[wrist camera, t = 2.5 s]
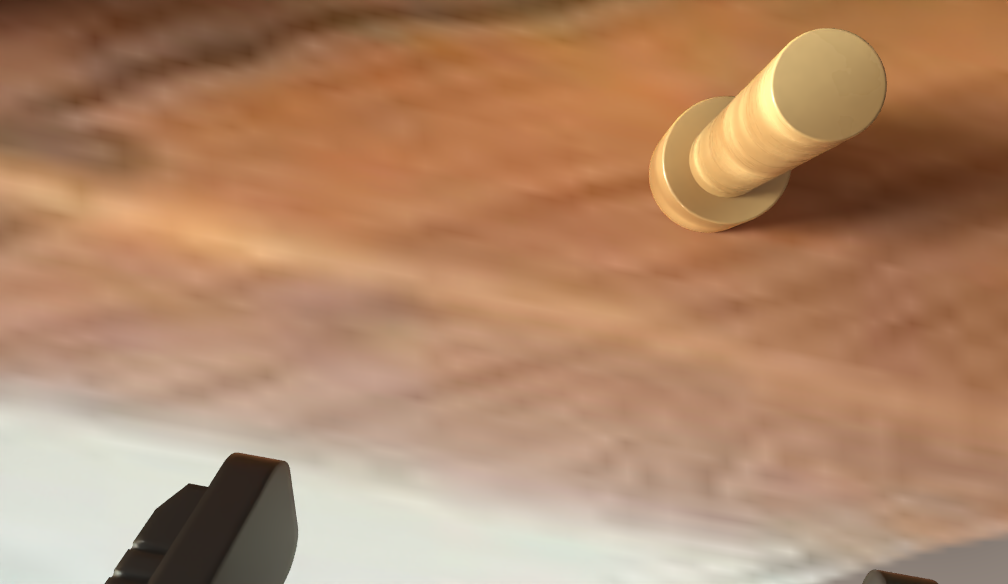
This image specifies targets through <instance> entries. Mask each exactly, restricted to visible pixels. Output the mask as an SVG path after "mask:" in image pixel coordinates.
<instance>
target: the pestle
mask: <svg viewBox="0 0 1008 584" xmlns="http://www.w3.org/2000/svg"><path fill="white" fill-rule="evenodd" d="M886 88H887V81H886V74H885V70H884V66H883V64H882V61H881V59H880V58H879V56H878V54H877V53H876V51H875V50H874V49H873V48H872V47H871V46H870V45H869V43H867V42H866V41H865V40H864V39H862V38H861V37H859V36H857V35H856V34H853V33H851V32H849V31H845V30H842V29H835V28H822V29H816V30H811V31H809V32H806V33H803V34H802V35H800V36H798V37H796V38H795V39H793V40H792V41H791V42H790V43H789V44H788V45H786V46H785V47H784V48H783V49H782V50H781V51H780V52H779V53H778V55H777V56H776V57H775V58H774V59H773V60H772V61H771V62H770V63H769V64H768V65H767V66H766V67H765V68H764V69H763V70H762V71H761V72H760V73H759V74H758V75H757V76H756V77H755V78H754V79H753V80H752V81H751V82H750V83H749V84H748V85H747V86H746V87H745V88H744V89H743V90H742V91H741V92H740V93H739V94H738V95H737V96H736V97H735V96H720V97H713V98H709V99H706V100H703V101H701V102H698V103H697V104H695V105H693V106H691V107H690V108H688V109H687V110H686V111H684V112H683V113H682V114H681V115H680V116H679V117H678V118H677V120H676V121H675V122H674V123H673V125H672V126H671V127H670V128H669V130H668V131H667V132H666V133H665V135H664V136H663V137H662V138H661V140H660V141H659V143H658V144H657V146H656V148H655V150H654V152H653V154H652V158H651V161H650V167H649V182H650V187H651V191H652V194H653V197H654V199H655V201H656V203H657V205H658V206H659V207H660V209H661V210H662V212H663V213H664V214H665V215H666V216H667V217H668V218H670V219H671V220H672V221H673V222H675V223H676V224H678V225H680V226H682V227H684V228H686V229H689V230H692V231H697V232H705V233H711V232H719V231H724V230H727V229H729V228H732V227H735V226H737V225H740V224H742V223H745V222H747V221H750V220H753V219H755V218H757V217H759V216H760V215H762V214H763V213H765V212H766V211H768V210H769V209H770V208H771V207H772V206H773V205H774V204H775V203H776V202H777V201H778V199H779V198H780V197H781V195H782V194H783V192H784V190H785V188H786V186H787V184H788V181H789V178H790V174H791V169H793V168H795V167H797V166H799V165H801V164H803V163H805V162H807V161H809V160H810V159H812V158H814V157H816V156H818V155H820V154H822V153H824V152H826V151H828V150H830V149H831V148H833V147H835V146H837V145H839V144H841V143H843V142H845V141H847V140H849V139H851V138H853V137H854V136H856V135H858V134H860V133H861V132H863V131H864V130H865V129H867V128H868V127H869V126H870V125H871V124H872V123H873V121H874V120H875V119H876V118H877V116H878V114H879V113H880V111H881V109H882V106H883V104H884V100H885V96H886Z"/></svg>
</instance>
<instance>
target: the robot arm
mask: <svg viewBox="0 0 1008 584" xmlns="http://www.w3.org/2000/svg"><path fill="white" fill-rule="evenodd" d="M297 540H298V525H297V517H296V510H295V503H294V496H293V489H292V481H291V474H290V468H289V465H288V463H287V462H285V461H281V460H276V459H270V458H265V457H259V456H254V455H248V454H243V453H233V454H231V455H230V456H229V457H228V458H227V459H226V460H225V462H224V463H223V465H222V466H221V468H220V469H219V471H218V473H217V474H216V476H215V477H214V479H213V480H212V482H211V484H210V485H209V487H205V486H200V485H195V484H188V485H186V486H185V487H184V488H183V489H181V490H180V491H179V492H177V493H176V494H175V495H174V496H172V497H171V498H170V499H168V500H167V501H166V502H165V503H163V504H162V505H161V506H159V507H158V508H157V509H156V510H155V511H154V513H153V514H152V515H151V517H150V518H149V520H148V521H147V523H146V524H145V526H144V527H143V529H142V530H141V532H140V533H139V534H138V536H137V537H136V539H135V540H134V542H133V546H132V548H131V550H129V549H128V551H127V552H126V553H125V555H124V556H123V558H122V559H121V561H120V562H119V564H118V565H117V567H116V568H115V570H114V575H113V576H112V577H109V578H108V580H107V581H106V583H105V584H284V582H285V579H286V577H287V575H288V573H289V571H290V568H291V565H292V562H293V559H294V555H295V552H296V547H297ZM862 584H938V583H937V582H936V581H934V580H930V579H925V578H919V577H913V576H908V575H903V574H897V573H892V572H886V571H880V570H872V571H870V572H869V573H868V574H867V576H866V578H865V579H864V581H863V583H862Z"/></svg>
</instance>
